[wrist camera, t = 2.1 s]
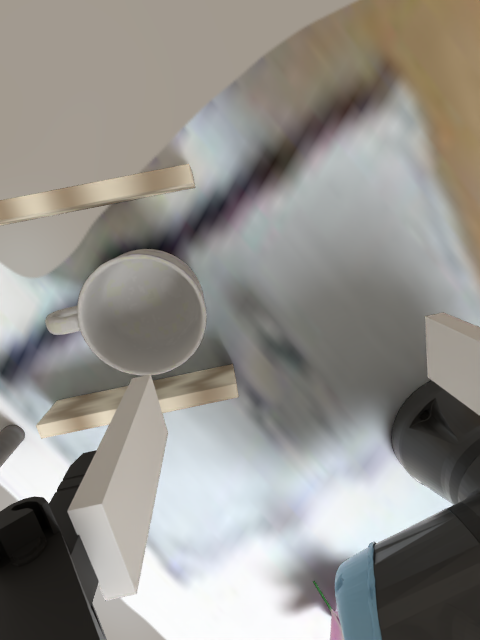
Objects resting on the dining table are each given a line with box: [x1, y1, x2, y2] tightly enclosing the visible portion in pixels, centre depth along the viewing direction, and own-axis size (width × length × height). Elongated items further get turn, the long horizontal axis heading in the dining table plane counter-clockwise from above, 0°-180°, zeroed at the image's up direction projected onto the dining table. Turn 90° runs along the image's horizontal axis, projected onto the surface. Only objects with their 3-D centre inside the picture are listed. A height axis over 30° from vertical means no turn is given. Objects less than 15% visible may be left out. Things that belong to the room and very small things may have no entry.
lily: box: [313, 581, 344, 640], centre depth 48 cm, size 12×12×10 cm
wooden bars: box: [0, 164, 239, 467], centre depth 32 cm, size 27×27×10 cm
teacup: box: [45, 249, 207, 375], centre depth 33 cm, size 14×11×8 cm
